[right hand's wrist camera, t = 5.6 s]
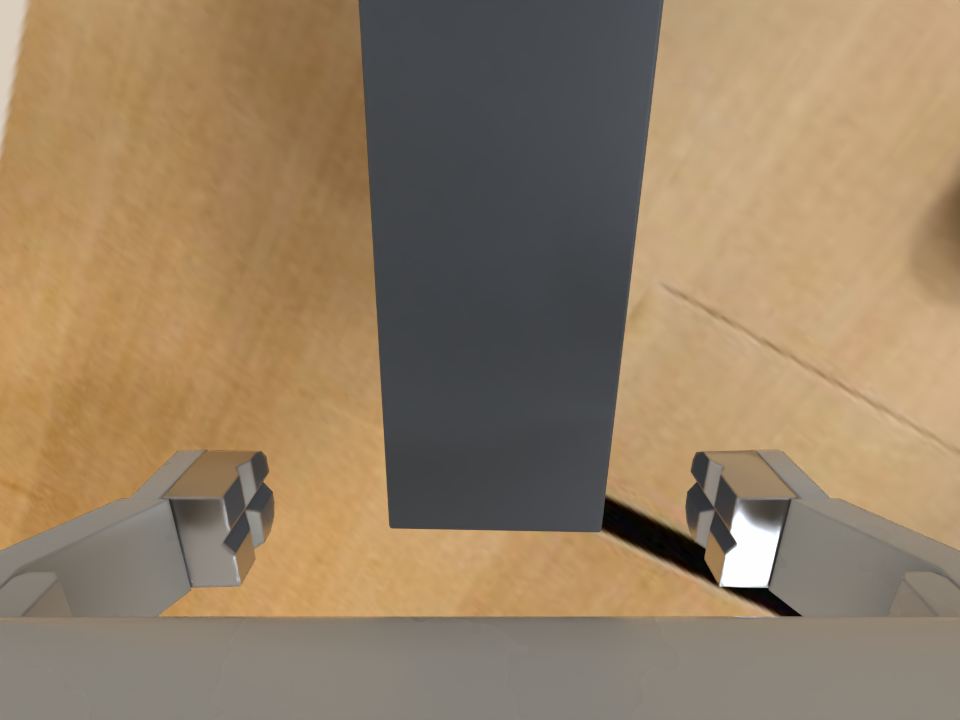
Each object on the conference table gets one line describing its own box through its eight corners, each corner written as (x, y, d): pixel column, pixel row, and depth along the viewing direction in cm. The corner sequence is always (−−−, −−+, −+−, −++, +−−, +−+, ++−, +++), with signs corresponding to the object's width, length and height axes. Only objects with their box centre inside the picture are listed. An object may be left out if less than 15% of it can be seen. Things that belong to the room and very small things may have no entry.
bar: (563, 405, 22) (601, 534, 15) (421, 402, 22) (388, 529, 15) (630, -445, 13) (800, -1142, 6) (396, -447, 13) (290, -1144, 6)
